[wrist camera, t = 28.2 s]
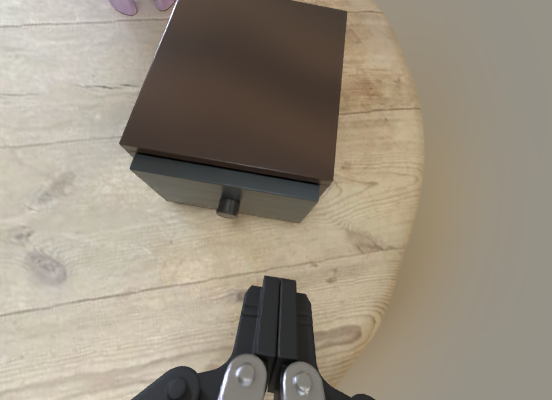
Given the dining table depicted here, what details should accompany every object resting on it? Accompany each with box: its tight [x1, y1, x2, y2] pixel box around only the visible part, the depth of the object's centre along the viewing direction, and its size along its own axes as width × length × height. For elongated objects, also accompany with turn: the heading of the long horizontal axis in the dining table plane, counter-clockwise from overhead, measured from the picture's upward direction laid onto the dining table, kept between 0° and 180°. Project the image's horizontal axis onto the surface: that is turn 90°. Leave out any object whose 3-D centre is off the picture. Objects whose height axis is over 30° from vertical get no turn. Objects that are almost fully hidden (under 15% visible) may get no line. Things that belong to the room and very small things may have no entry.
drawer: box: [130, 153, 320, 223], centre depth 21 cm, size 16×12×7 cm
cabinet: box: [119, 0, 347, 198], centre depth 22 cm, size 16×14×9 cm
